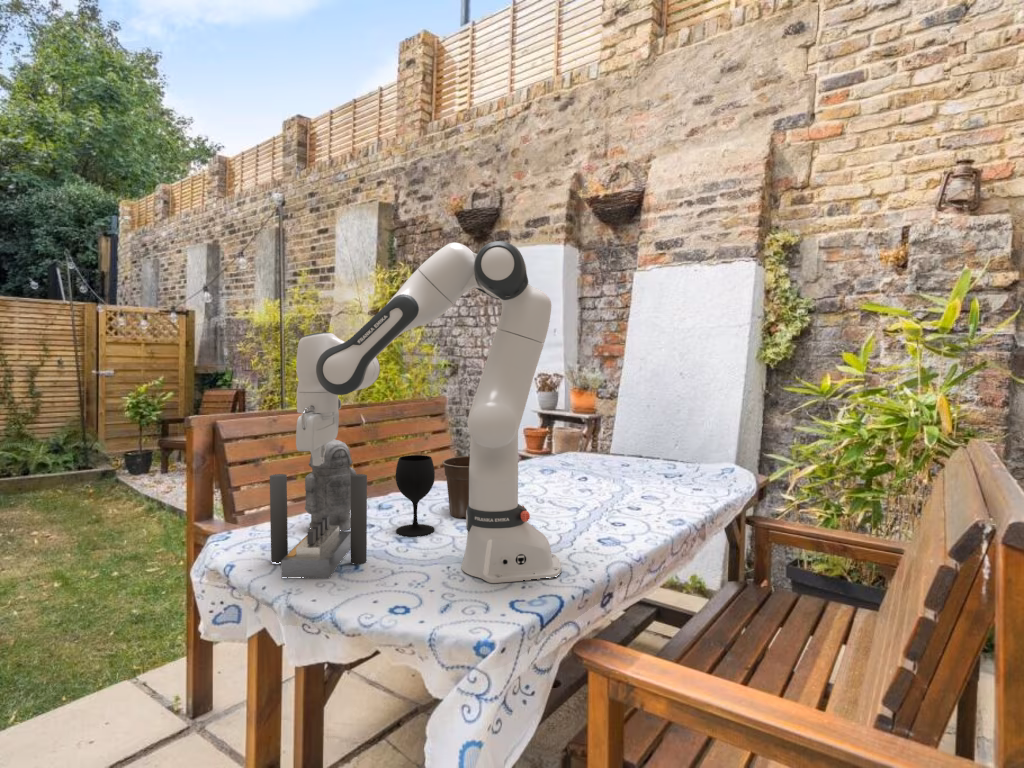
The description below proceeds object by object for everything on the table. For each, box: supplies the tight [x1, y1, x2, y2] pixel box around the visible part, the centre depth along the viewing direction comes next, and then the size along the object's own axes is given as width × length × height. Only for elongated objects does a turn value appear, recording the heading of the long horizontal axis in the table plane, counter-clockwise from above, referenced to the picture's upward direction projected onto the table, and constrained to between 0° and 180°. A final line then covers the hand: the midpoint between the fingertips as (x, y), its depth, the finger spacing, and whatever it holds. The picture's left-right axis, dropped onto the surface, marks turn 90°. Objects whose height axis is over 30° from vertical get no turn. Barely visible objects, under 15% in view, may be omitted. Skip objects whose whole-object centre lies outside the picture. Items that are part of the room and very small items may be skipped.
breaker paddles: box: [306, 515, 329, 544], centre depth 133 cm, size 1×13×3 cm, turn 2°
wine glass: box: [395, 454, 436, 538], centre depth 157 cm, size 10×10×20 cm
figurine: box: [304, 439, 357, 531], centre depth 159 cm, size 10×14×25 cm
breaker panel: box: [280, 526, 351, 579], centre depth 134 cm, size 10×20×6 cm, turn 2°
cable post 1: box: [269, 473, 289, 563], centre depth 133 cm, size 4×4×20 cm
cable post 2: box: [350, 473, 368, 565], centre depth 134 cm, size 4×4×20 cm
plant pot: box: [441, 455, 470, 519], centre depth 174 cm, size 16×16×16 cm
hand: (318, 464), depth 133 cm, fingers closed
